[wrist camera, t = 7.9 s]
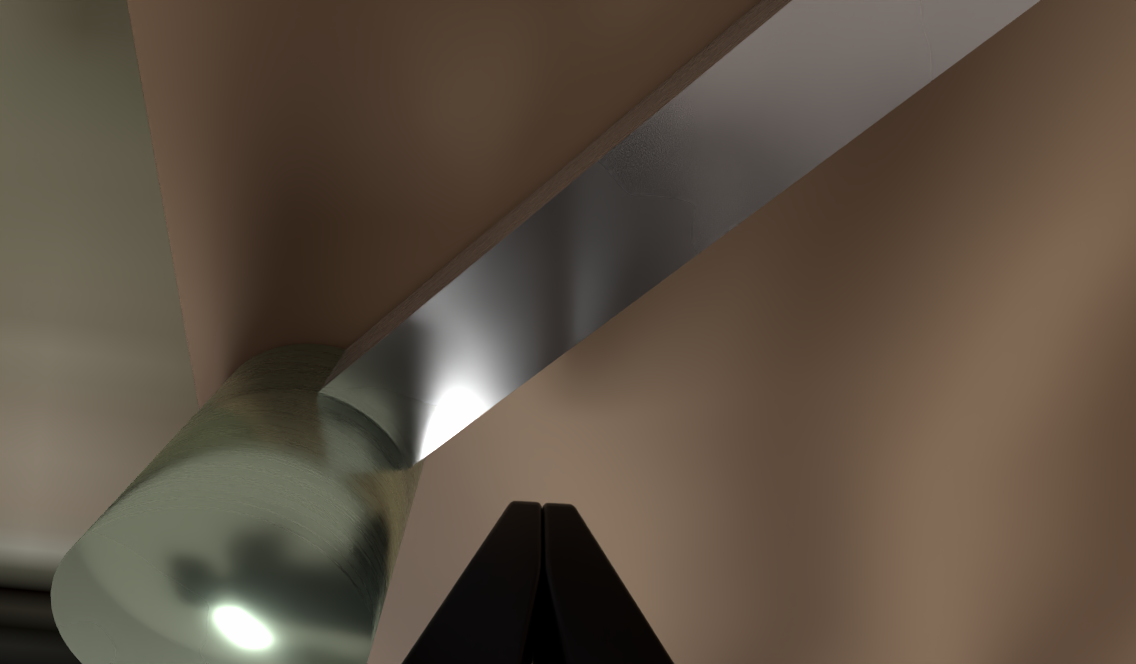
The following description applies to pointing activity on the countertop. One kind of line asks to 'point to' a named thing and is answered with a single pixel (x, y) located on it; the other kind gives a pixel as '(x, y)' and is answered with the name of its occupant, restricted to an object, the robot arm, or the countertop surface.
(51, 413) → the countertop surface
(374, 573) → the tong arm
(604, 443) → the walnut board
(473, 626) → the robot arm
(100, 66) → the countertop surface
